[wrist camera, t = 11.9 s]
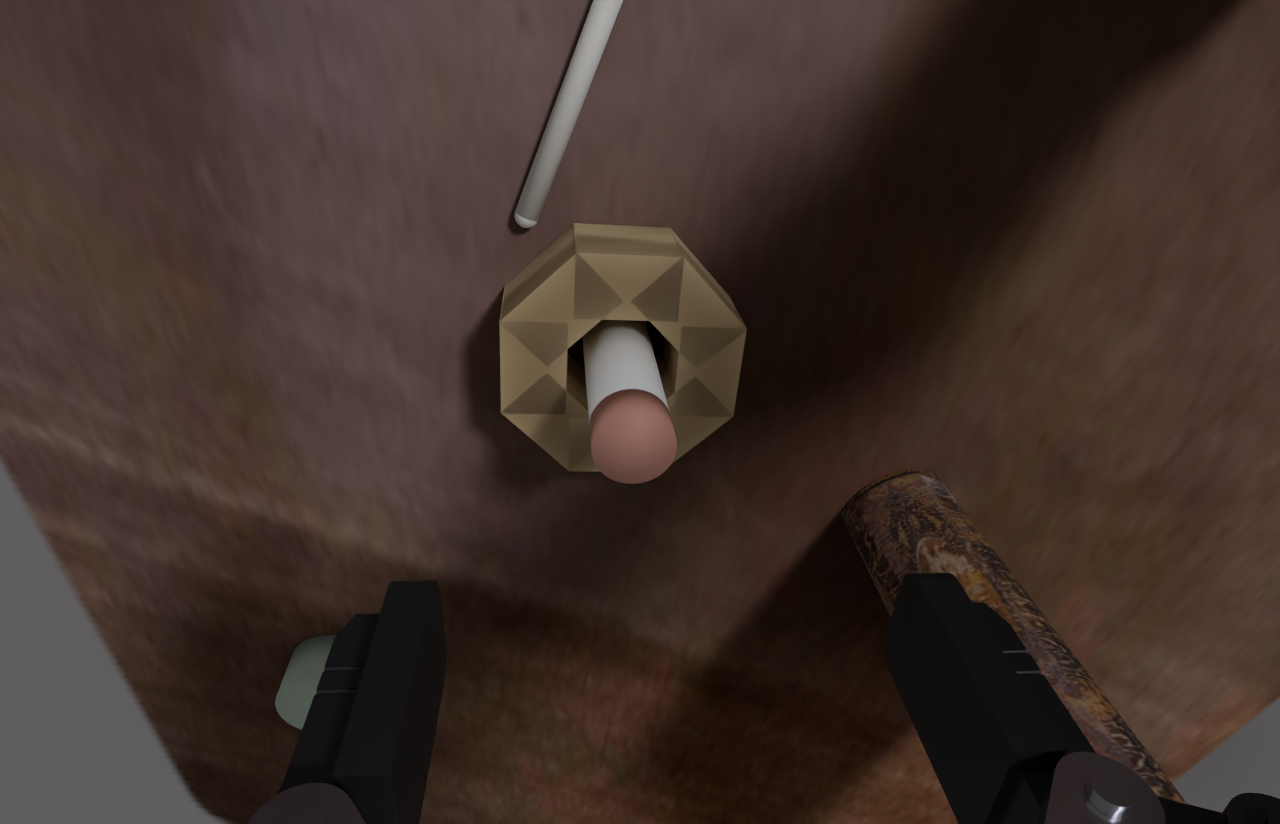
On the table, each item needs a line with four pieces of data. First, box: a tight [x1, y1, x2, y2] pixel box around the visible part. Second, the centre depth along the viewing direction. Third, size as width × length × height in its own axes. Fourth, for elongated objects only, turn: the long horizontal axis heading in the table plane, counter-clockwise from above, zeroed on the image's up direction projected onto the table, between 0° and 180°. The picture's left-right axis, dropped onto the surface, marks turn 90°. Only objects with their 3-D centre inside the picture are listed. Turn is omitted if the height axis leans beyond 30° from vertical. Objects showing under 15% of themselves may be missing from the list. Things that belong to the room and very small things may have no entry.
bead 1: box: [275, 635, 336, 730], centre depth 43 cm, size 4×4×3 cm
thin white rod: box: [514, 0, 623, 228], centre depth 29 cm, size 13×1×1 cm, turn 156°
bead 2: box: [499, 223, 747, 472], centre depth 34 cm, size 10×10×4 cm
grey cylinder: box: [582, 320, 677, 484], centre depth 31 cm, size 3×3×10 cm
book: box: [842, 469, 1187, 804], centre depth 34 cm, size 16×6×25 cm, turn 27°
